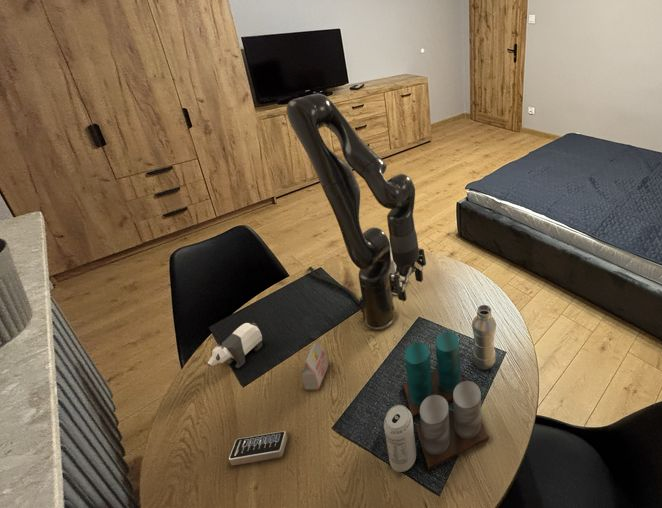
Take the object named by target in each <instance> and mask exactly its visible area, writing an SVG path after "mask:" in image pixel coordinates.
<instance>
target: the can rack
mask: <svg viewBox="0 0 662 508" xmlns="http://www.w3.org/2000/svg"><path fill="white" fill-rule="evenodd" d="M435 356H436V357H435V358H436V370H434V371H432V368H431V356H430V348H429V347H428V345H427V344H426V343H423V342H413V343H411V344H410V345H409V346H407V348H406V349H405V351H404V361H405V369H406V379H407V382H405V383H403V384H402V386H403V390H404V394H405V396H406V400H407V404H408V407H409V411H410V412H411V414H412V418H413V419H416V418H417V417H420V406H421V404H422V402H423V401H424V399H426V398H427V397H429V396H431V395H440V396H442V397H443V398H445V400H446V401H447V403H448V404H449V403H452V402H453V392H454V389H455V387H456V386H457V385H458V384H459V383H461V382H464V379H463V377H462V375H461V355H460V338H459V336H458V335H457V334H456V333H455V332H453V331H444V332H441V333H439V334H438V335H437V337H436V338H435Z"/></svg>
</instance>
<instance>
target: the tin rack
mask: <svg viewBox="0 0 662 508" xmlns="http://www.w3.org/2000/svg"><path fill="white" fill-rule="evenodd" d="M452 403H453V410H452V411H449V410H450V408H449V403H447V401H446V400H445V398H443V397H442V396H440V395H431V396H429V397H427V398H426V399H424V401H423V402H422V404H421V406H420V416H419V420H420V425H419V426H417V427H416V433H417V434H416V435H417V437H418V440H419V443H420V446H421V450H422V453H423V456H424V460H425V463H426V466H427V470H428V471H430V470H432V469H434V468H436V467H438V466H440V465H442V464H444V463H446V462H448V461H450V460H452V459H454V458H455V457H457V456H459V455H462V454H463V453H465V452H467V451H469V450H472V449H473V448H475V447H477V446H479V445H481V444H483V443H485V442H487V441H489V440H490V436H489V434H488V431H487V428H486V427H485V424H484V423H483V421H482V417H481V416H482V392H481V389H480V387H479V386H478V385H477V384H476V383H475V382H473V381H470V380H463V382H461V383H459V384H458V385H457V386H456V387H455V389H454V392H453V401H452Z"/></svg>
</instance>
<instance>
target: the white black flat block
mask: <svg viewBox="0 0 662 508" xmlns="http://www.w3.org/2000/svg"><path fill="white" fill-rule="evenodd" d="M287 441H288V435H287V433H286V431H285V430H281V431H276V432H269V433H263V434H257V435H250V436H245V437H239V438H236V439H235V441H234V443H233V446H232V449H231V452H230V454H229V455H228V456H229V457H228V460H229V463H230V465H231V466H232V467H233V466H239V465H246V464H251V463H256V462H257V463H258V462H263V461H268V460H275V459H280V458H282V457H283V455H284V452H285V448H286V445H287Z"/></svg>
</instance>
